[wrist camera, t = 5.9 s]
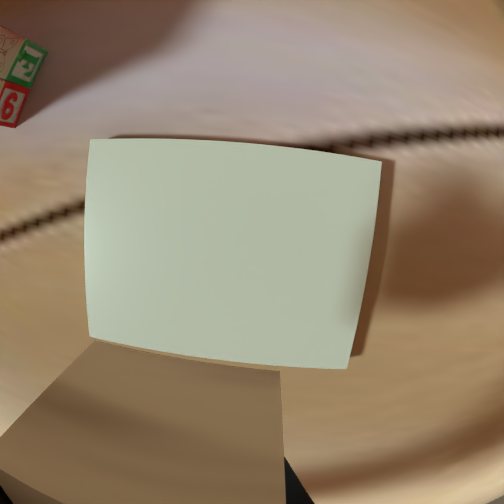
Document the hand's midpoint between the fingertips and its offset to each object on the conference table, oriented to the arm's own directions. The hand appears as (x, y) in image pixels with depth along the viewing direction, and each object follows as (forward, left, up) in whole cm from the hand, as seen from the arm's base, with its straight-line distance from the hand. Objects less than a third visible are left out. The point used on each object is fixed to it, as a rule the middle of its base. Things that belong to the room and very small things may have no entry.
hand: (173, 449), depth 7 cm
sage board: (+3, 0, -11) cm, 12 cm away
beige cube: (0, 0, -1) cm, 1 cm away
